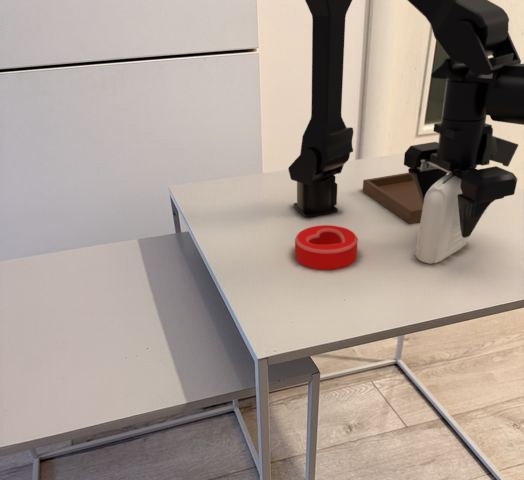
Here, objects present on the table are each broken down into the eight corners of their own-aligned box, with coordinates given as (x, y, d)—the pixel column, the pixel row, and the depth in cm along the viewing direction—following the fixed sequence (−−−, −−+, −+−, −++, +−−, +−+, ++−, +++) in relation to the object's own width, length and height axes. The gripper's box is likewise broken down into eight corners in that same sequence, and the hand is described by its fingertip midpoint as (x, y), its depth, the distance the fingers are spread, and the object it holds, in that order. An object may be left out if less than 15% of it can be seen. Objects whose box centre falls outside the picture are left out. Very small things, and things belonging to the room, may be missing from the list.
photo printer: (445, 237, 88) (460, 161, 81) (469, 245, 86) (487, 167, 78) (410, 258, 83) (422, 179, 75) (434, 267, 80) (450, 187, 73)
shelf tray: (409, 224, 93) (411, 211, 92) (362, 191, 107) (363, 179, 105) (476, 211, 96) (478, 199, 95) (422, 181, 110) (423, 169, 109)
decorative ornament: (350, 272, 80) (352, 253, 78) (288, 266, 83) (288, 247, 81) (360, 245, 87) (362, 226, 85) (303, 239, 90) (303, 221, 88)
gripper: (565, 122, 67) (535, 239, 76) (471, 97, 82) (456, 197, 91) (489, 135, 64) (468, 254, 73) (406, 107, 79) (397, 209, 88)
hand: (447, 225), depth 81 cm, fingers open, 9 cm apart
